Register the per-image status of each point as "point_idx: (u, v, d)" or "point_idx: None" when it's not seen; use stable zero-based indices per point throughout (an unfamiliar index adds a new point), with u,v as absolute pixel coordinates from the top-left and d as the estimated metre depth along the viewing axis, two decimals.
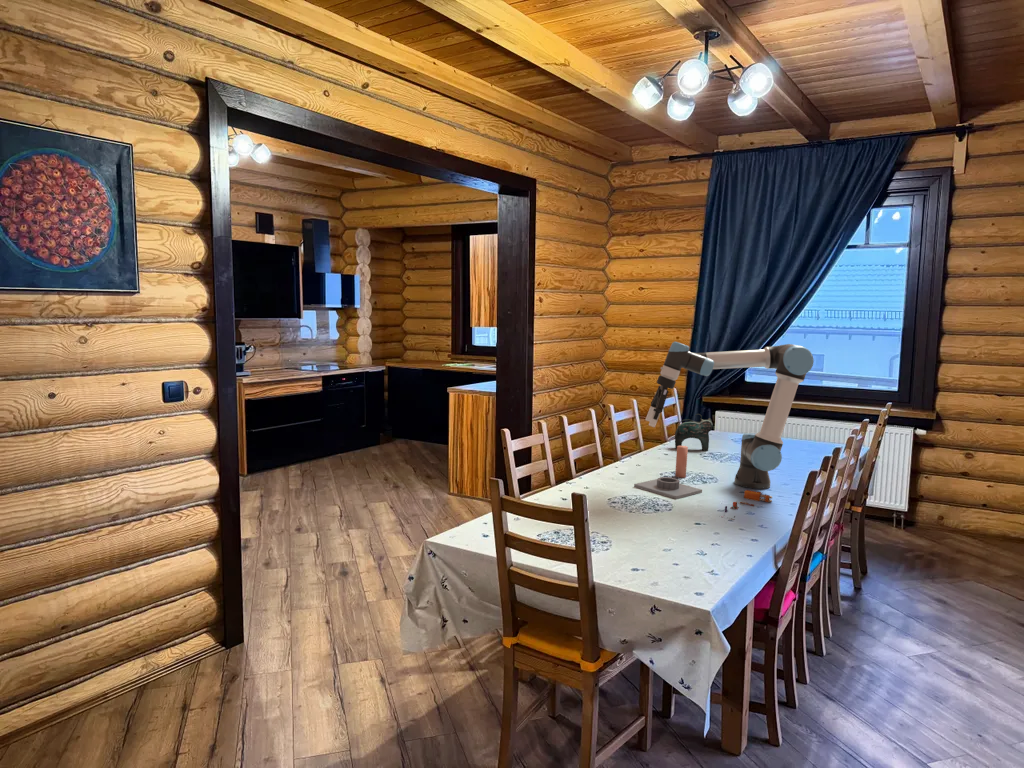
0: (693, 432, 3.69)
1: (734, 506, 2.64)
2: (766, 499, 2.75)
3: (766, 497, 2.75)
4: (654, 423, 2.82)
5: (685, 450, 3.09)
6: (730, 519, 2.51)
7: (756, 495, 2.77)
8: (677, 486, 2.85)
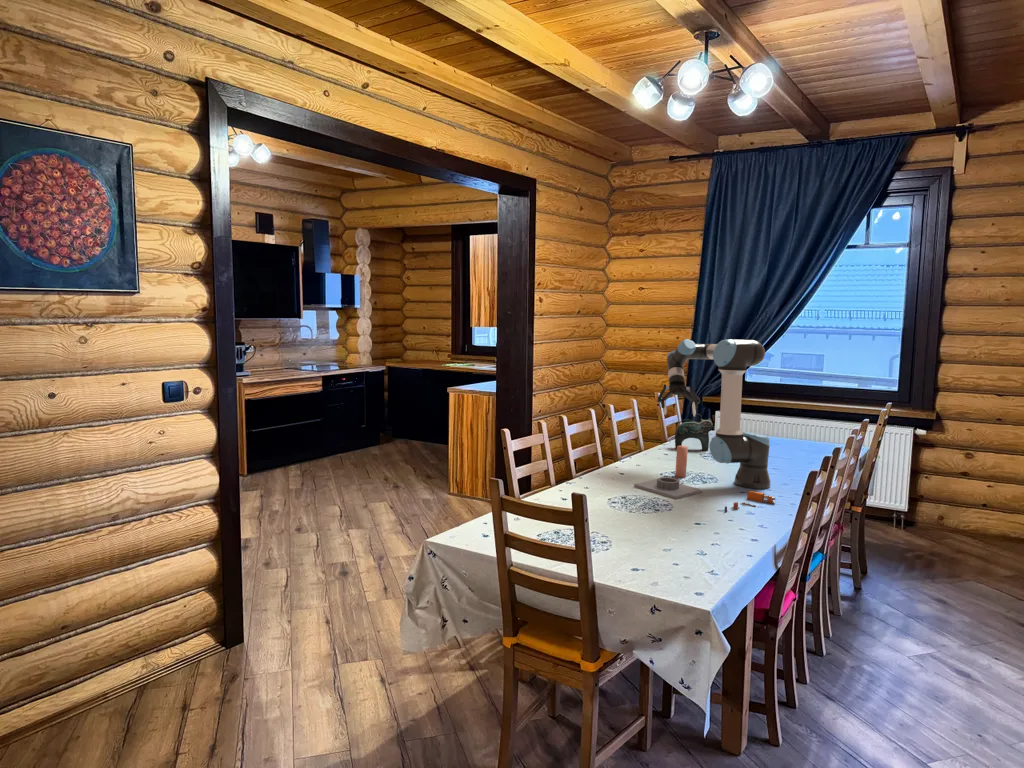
0: (693, 432, 3.69)
1: (735, 507, 2.64)
2: (769, 500, 2.73)
3: (769, 498, 2.73)
4: (664, 409, 3.20)
5: (685, 450, 3.09)
6: None
7: (759, 496, 2.75)
8: (677, 486, 2.85)
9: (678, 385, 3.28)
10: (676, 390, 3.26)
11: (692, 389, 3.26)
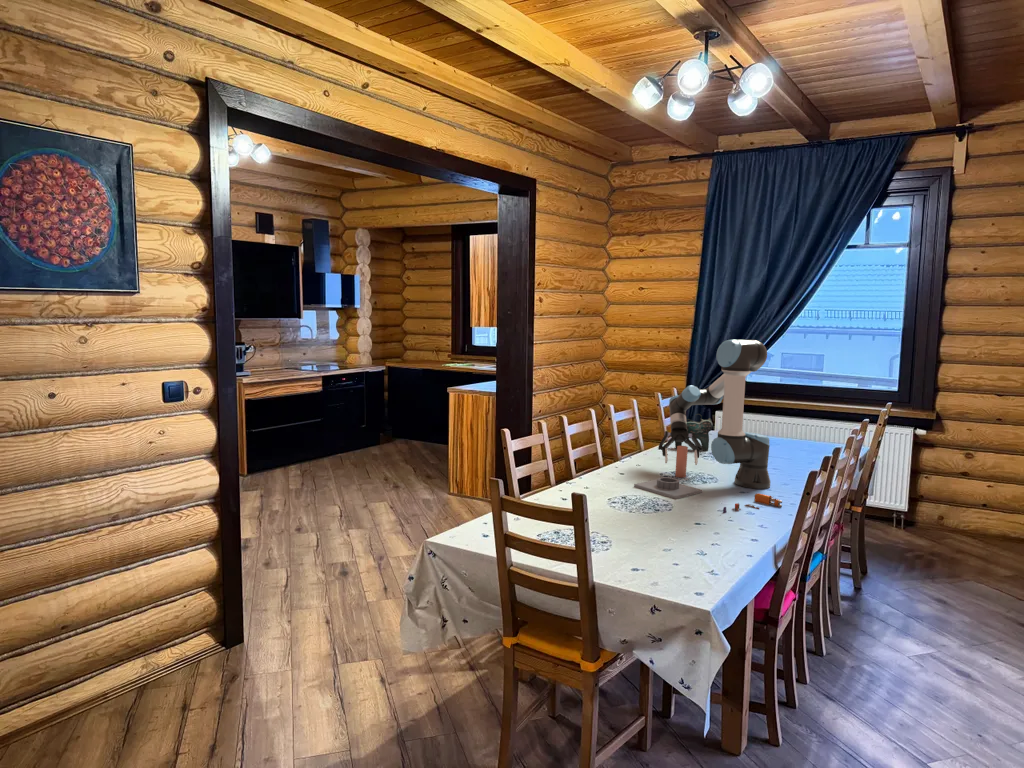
0: (693, 432, 3.69)
1: (736, 508, 2.62)
2: (776, 503, 2.69)
3: (776, 501, 2.69)
4: (665, 458, 3.12)
5: (685, 450, 3.09)
6: None
7: (765, 499, 2.72)
8: (677, 486, 2.85)
9: (680, 432, 3.20)
10: (678, 437, 3.18)
11: (694, 436, 3.18)
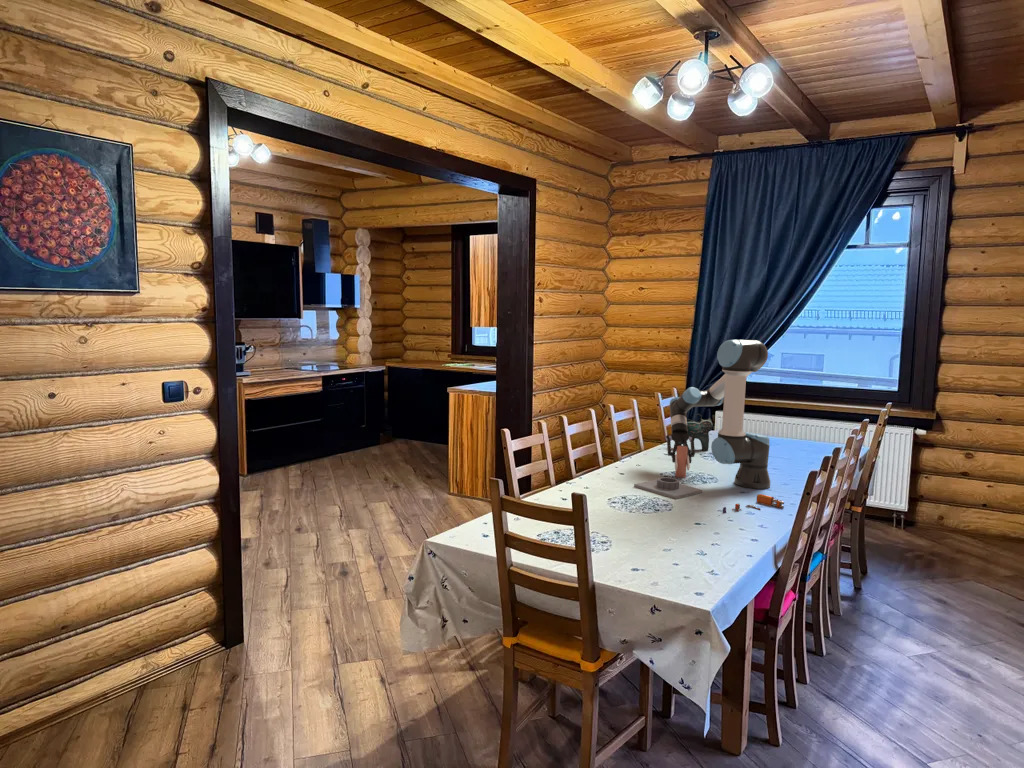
0: (693, 432, 3.69)
1: (736, 508, 2.62)
2: (777, 504, 2.68)
3: (777, 502, 2.68)
4: (675, 464, 3.09)
5: (685, 450, 3.09)
6: None
7: (767, 500, 2.71)
8: (677, 486, 2.85)
9: (681, 434, 3.19)
10: (679, 439, 3.17)
11: (693, 441, 3.16)
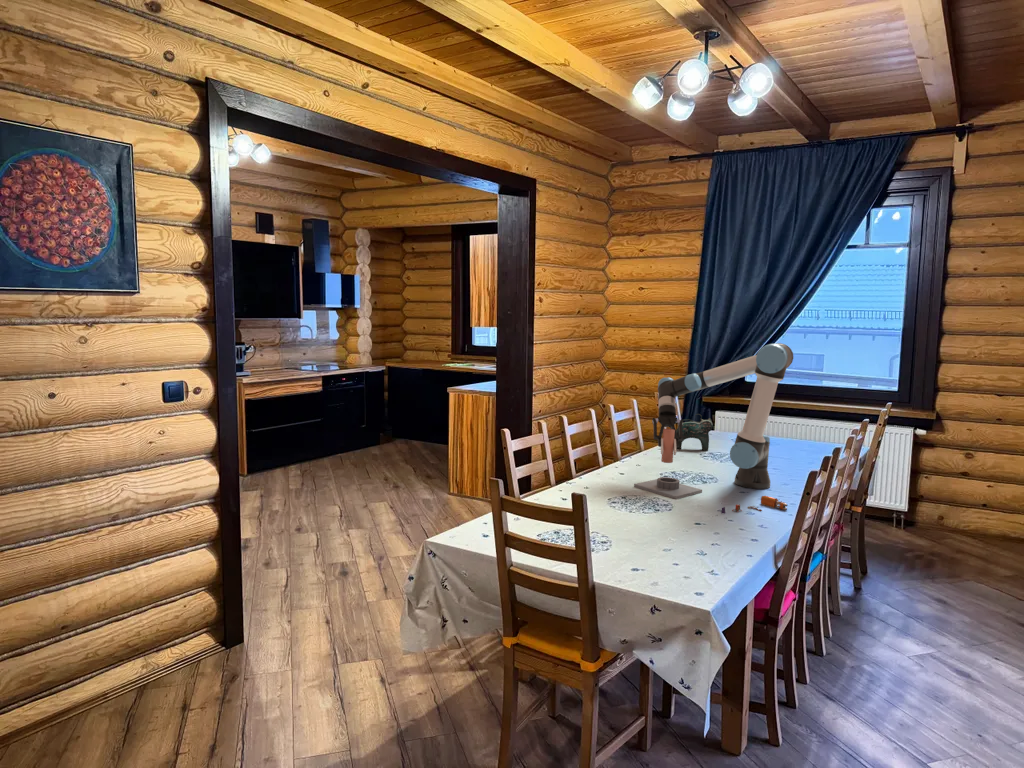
0: (693, 432, 3.69)
1: (736, 509, 2.61)
2: (781, 506, 2.65)
3: (781, 504, 2.65)
4: (661, 448, 2.88)
5: (672, 433, 2.88)
6: None
7: (771, 501, 2.68)
8: (677, 486, 2.85)
9: (668, 416, 2.97)
10: (666, 421, 2.96)
11: (681, 423, 2.94)
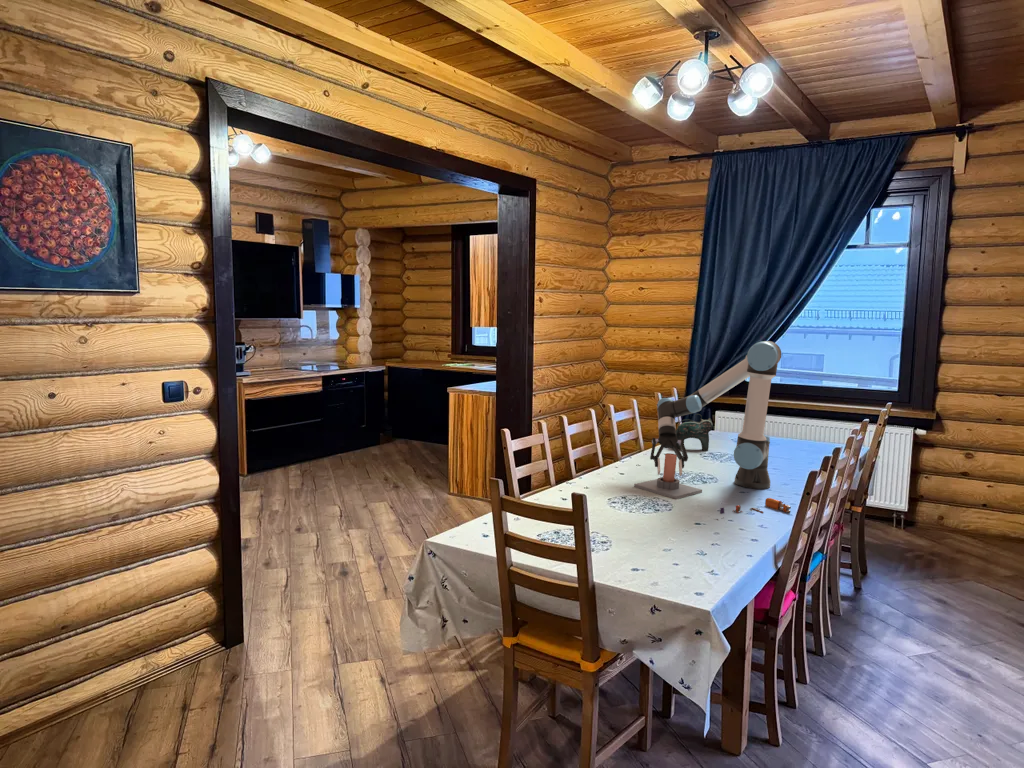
0: (693, 432, 3.69)
1: (736, 510, 2.60)
2: (784, 509, 2.62)
3: (784, 507, 2.62)
4: (658, 469, 2.85)
5: (674, 459, 2.85)
6: None
7: (775, 504, 2.66)
8: (677, 486, 2.85)
9: (668, 437, 2.94)
10: (667, 443, 2.93)
11: (683, 444, 2.92)
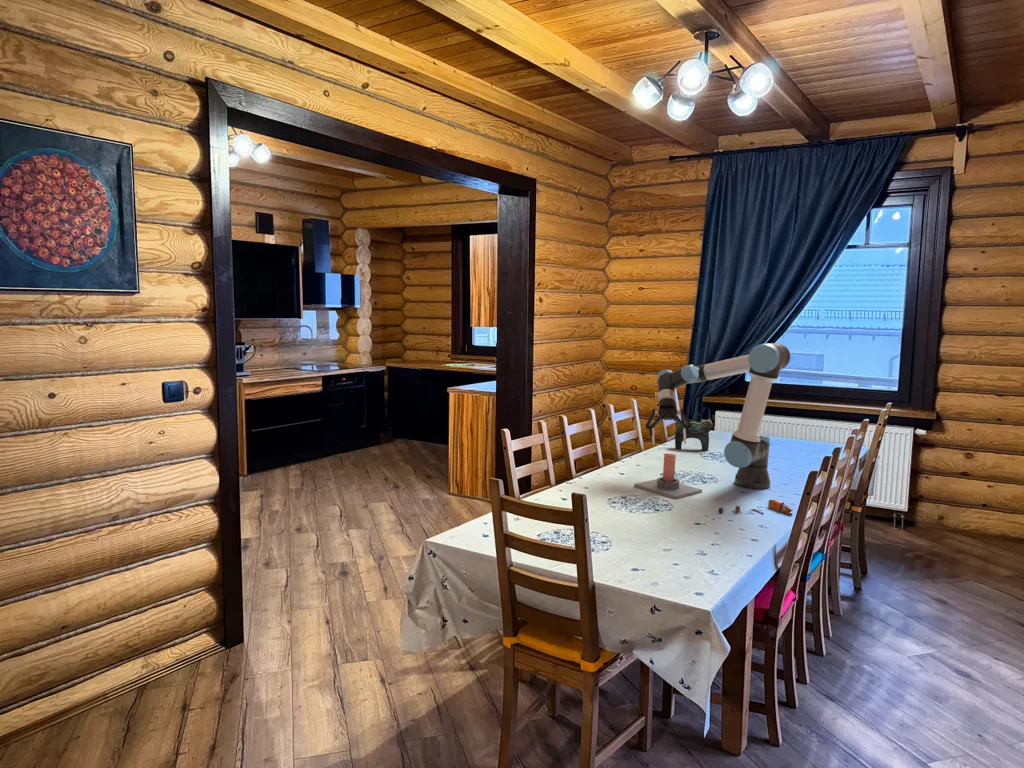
0: (693, 432, 3.69)
1: (736, 510, 2.59)
2: (786, 511, 2.60)
3: (786, 509, 2.60)
4: (652, 438, 2.98)
5: (673, 458, 2.85)
6: None
7: (777, 505, 2.63)
8: (677, 486, 2.85)
9: (668, 409, 3.04)
10: (666, 415, 3.03)
11: (683, 413, 3.02)
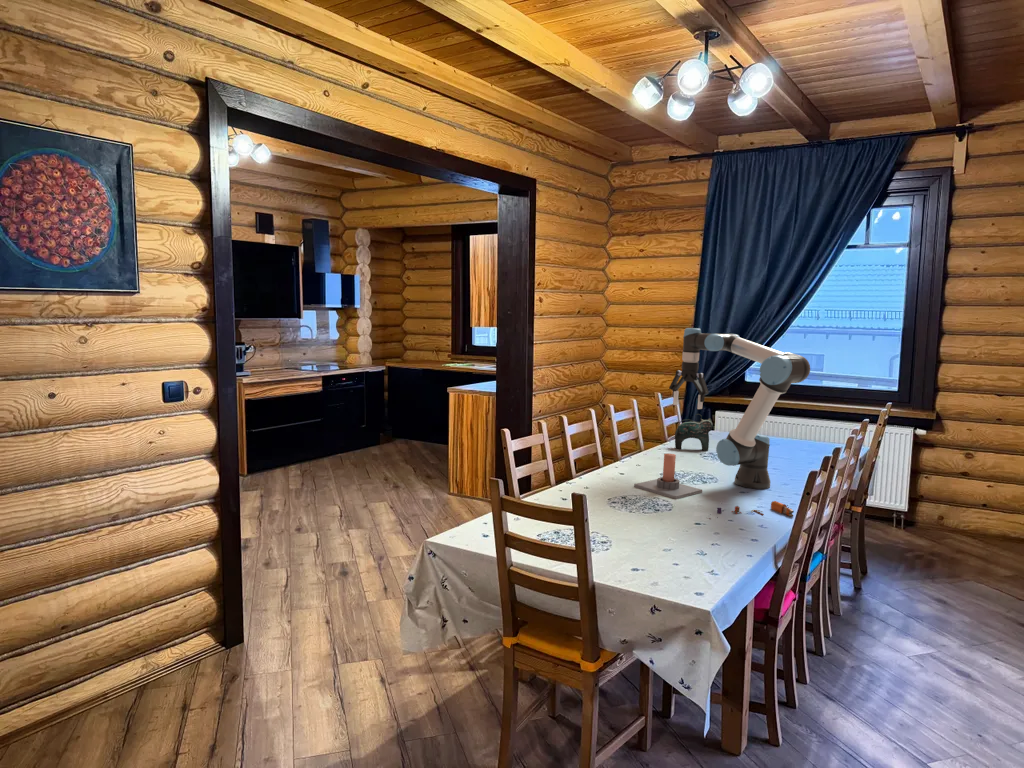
0: (693, 432, 3.69)
1: (735, 510, 2.59)
2: (787, 512, 2.57)
3: (787, 510, 2.57)
4: None
5: (673, 458, 2.85)
6: None
7: (779, 507, 2.61)
8: (677, 486, 2.85)
9: (688, 372, 3.12)
10: (686, 378, 3.13)
11: (700, 378, 3.07)
